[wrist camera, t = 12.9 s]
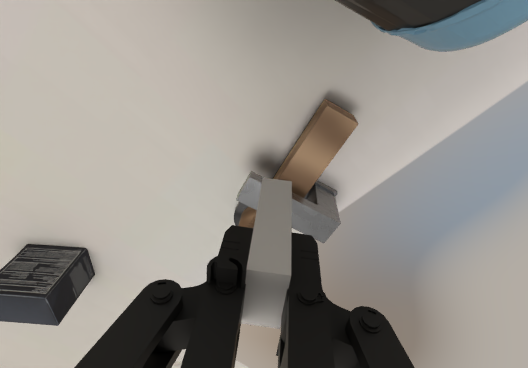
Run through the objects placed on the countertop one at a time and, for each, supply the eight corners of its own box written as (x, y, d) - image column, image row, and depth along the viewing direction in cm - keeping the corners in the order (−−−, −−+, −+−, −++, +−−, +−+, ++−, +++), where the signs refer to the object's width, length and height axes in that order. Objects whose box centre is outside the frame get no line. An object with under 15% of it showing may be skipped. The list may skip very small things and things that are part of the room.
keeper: (243, 172, 44) (235, 201, 37) (257, 149, 42) (250, 175, 35) (320, 211, 46) (324, 245, 39) (336, 190, 44) (343, 223, 37)
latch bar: (269, 244, 48) (266, 268, 43) (233, 226, 47) (227, 249, 42) (360, 119, 38) (369, 134, 33) (317, 94, 36) (320, 105, 32)
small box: (39, 271, 57) (-10, 323, 48) (26, 243, 53) (-29, 291, 44) (96, 276, 56) (58, 328, 47) (87, 247, 53) (44, 297, 44)
